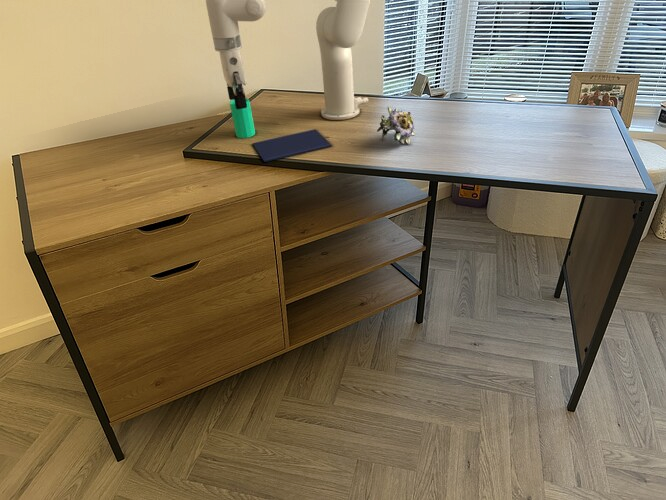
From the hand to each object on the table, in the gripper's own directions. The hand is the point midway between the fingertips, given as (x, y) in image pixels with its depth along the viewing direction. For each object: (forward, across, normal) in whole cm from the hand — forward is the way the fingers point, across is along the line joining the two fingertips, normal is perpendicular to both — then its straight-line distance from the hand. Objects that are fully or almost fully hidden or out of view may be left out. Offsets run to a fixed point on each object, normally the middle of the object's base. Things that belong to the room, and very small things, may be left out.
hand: (238, 103), depth 144 cm
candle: (+10, 0, -1) cm, 10 cm away
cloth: (+10, -16, -11) cm, 22 cm away
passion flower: (+9, -29, -38) cm, 48 cm away
